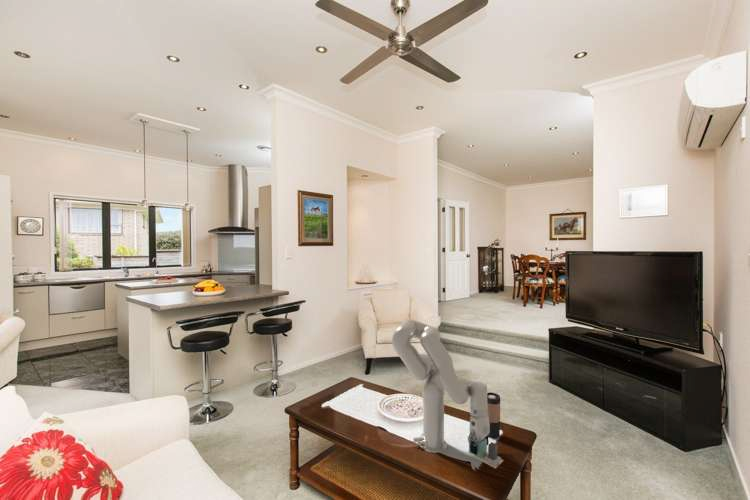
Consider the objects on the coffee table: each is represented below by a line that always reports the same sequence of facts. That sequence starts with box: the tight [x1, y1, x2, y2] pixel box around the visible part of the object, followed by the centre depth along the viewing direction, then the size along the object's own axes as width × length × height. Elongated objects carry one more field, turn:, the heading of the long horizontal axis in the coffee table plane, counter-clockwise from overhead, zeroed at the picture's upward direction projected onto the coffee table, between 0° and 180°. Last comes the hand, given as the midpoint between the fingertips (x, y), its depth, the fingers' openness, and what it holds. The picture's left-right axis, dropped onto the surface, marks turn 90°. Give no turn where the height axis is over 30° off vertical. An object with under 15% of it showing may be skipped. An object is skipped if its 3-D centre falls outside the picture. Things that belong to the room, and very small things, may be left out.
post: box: [485, 441, 502, 466], centre depth 147 cm, size 5×5×7 cm
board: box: [466, 451, 504, 469], centre depth 150 cm, size 8×14×1 cm, turn 43°
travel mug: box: [487, 392, 501, 439], centre depth 166 cm, size 8×8×20 cm
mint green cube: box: [468, 436, 488, 459], centre depth 152 cm, size 6×6×6 cm
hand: (479, 448), depth 152 cm, fingers open, 9 cm apart
